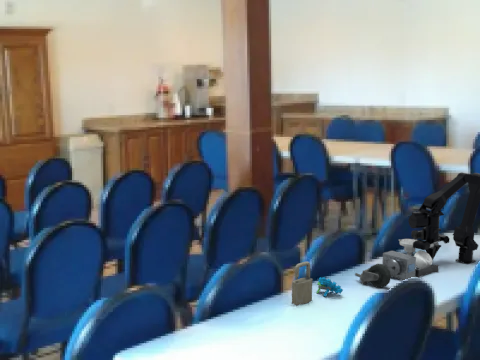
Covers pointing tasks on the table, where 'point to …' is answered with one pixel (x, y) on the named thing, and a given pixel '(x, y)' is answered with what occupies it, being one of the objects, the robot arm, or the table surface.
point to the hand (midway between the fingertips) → (430, 261)
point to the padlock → (302, 286)
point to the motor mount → (405, 266)
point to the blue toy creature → (328, 286)
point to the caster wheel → (375, 275)
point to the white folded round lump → (422, 259)
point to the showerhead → (408, 245)
